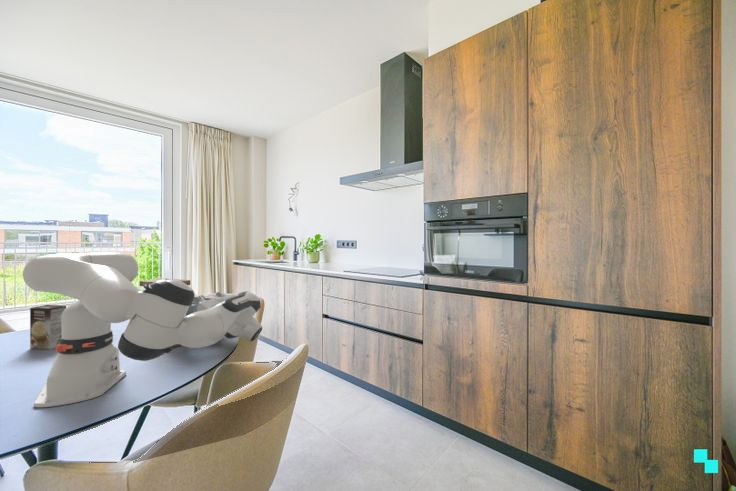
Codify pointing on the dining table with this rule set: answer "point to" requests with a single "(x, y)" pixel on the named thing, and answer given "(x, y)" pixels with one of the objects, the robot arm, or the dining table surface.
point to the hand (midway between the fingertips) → (208, 294)
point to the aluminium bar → (196, 301)
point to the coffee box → (45, 326)
